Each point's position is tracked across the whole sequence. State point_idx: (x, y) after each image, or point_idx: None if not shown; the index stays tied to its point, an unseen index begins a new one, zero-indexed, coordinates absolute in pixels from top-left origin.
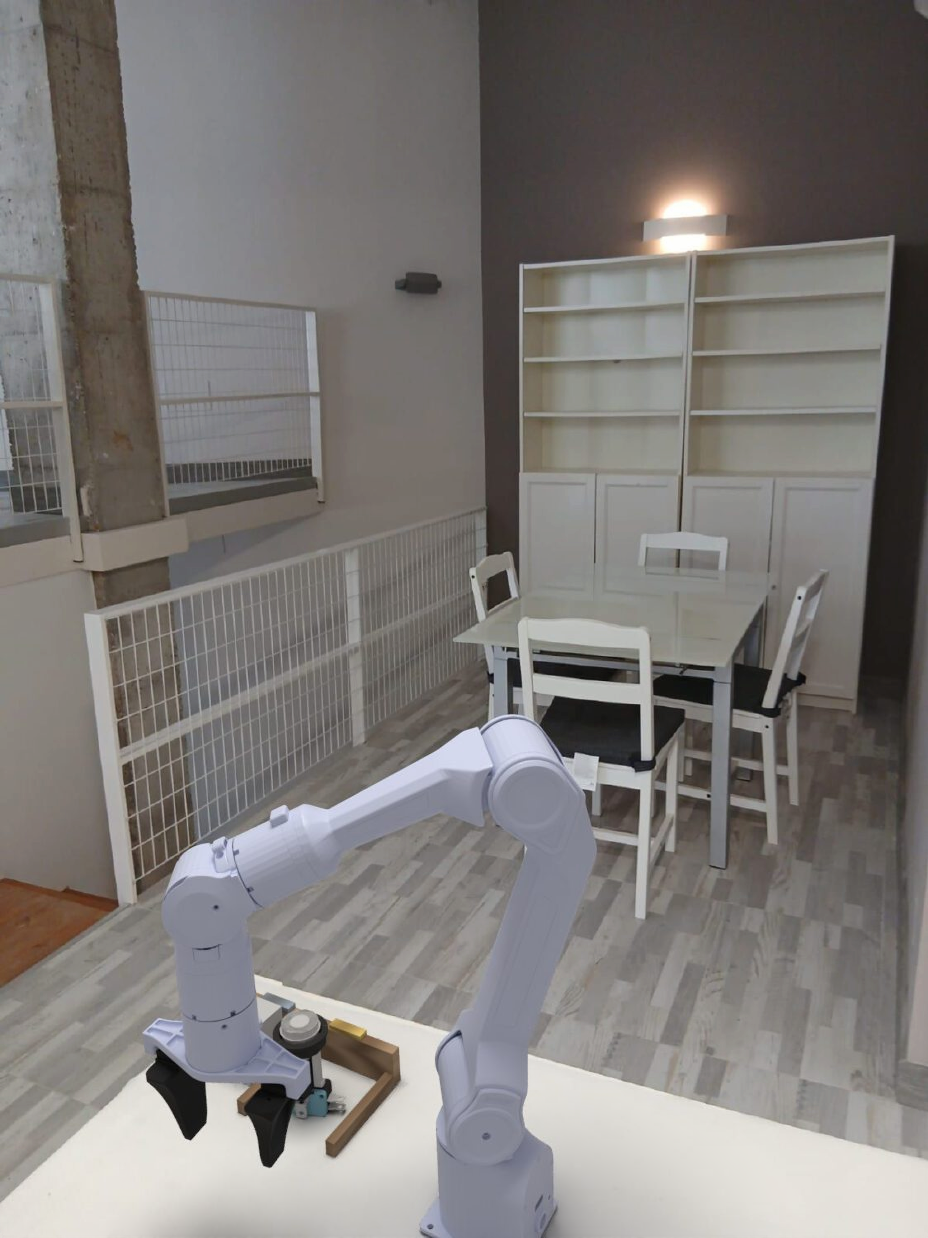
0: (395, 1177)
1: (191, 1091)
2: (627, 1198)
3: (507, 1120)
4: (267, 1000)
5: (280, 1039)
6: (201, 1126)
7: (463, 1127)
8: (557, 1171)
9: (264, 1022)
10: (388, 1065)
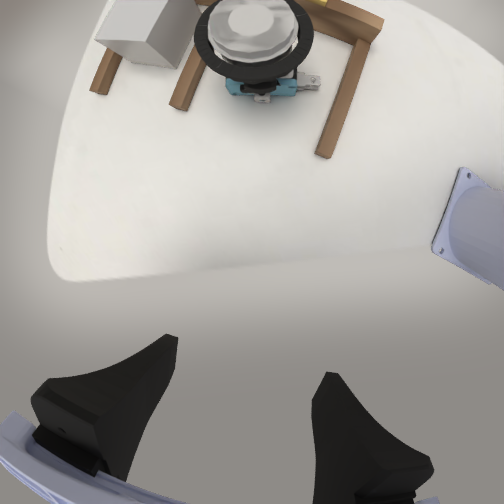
0: (401, 182)
1: (141, 411)
2: None
3: None
4: None
5: (218, 58)
6: (175, 349)
7: None
8: None
9: (165, 8)
10: (367, 35)
